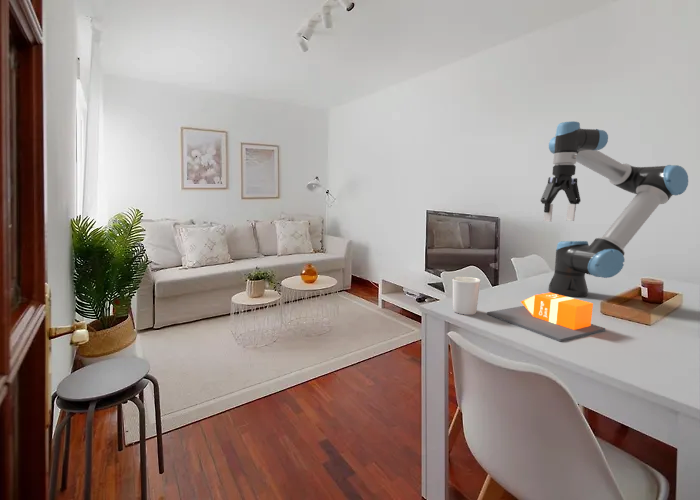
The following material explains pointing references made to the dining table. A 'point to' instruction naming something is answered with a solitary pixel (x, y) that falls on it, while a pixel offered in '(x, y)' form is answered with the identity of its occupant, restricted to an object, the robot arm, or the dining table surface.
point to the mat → (542, 324)
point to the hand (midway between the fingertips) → (559, 221)
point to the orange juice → (560, 310)
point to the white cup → (465, 295)
